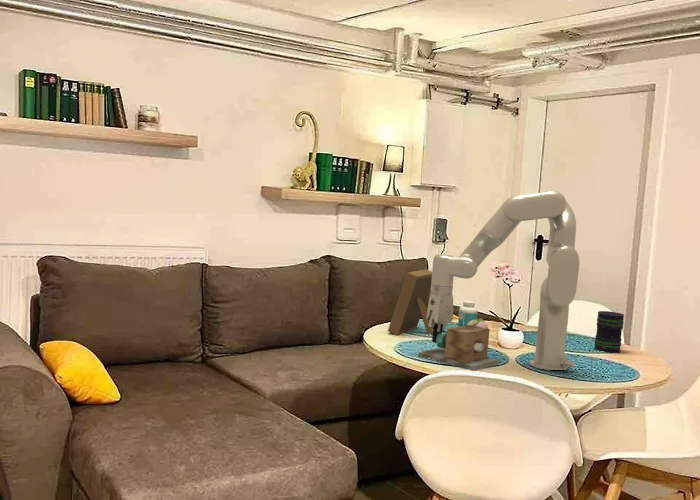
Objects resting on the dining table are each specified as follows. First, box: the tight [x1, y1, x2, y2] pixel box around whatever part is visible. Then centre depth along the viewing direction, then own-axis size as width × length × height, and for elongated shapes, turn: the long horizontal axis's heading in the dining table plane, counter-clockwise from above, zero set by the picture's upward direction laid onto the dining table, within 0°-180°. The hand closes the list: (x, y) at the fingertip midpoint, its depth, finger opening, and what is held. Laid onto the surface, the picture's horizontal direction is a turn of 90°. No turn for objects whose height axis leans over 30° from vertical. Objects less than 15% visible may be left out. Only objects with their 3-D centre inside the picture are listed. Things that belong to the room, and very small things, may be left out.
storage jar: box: [594, 310, 625, 354], centre depth 277 cm, size 10×10×15 cm
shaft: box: [436, 329, 484, 353], centre depth 239 cm, size 16×6×6 cm, turn 49°
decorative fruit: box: [467, 316, 489, 329], centre depth 273 cm, size 9×8×10 cm
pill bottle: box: [457, 300, 478, 327], centre depth 288 cm, size 8×7×14 cm
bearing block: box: [417, 325, 499, 371], centre depth 239 cm, size 22×16×12 cm
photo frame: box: [387, 268, 433, 336], centre depth 282 cm, size 15×22×25 cm
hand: (436, 342), depth 245 cm, fingers closed
